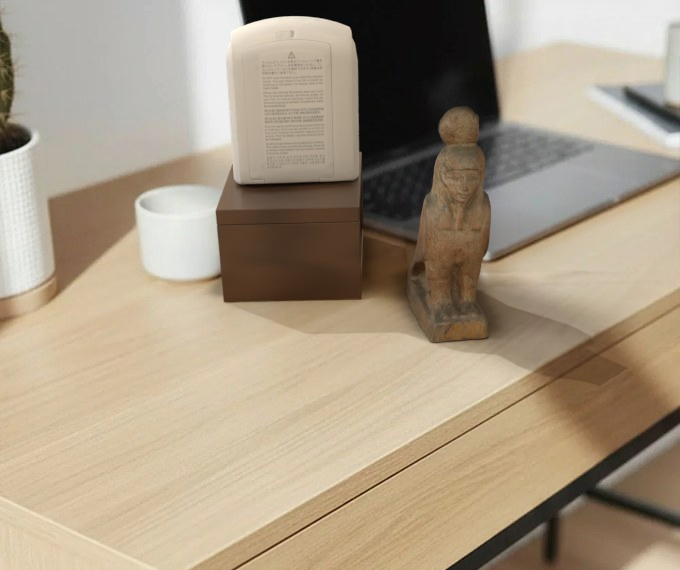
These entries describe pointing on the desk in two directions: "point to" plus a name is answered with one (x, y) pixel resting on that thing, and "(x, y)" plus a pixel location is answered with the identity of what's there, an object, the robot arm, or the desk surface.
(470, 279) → the worn brown figurine
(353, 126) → the photo printer
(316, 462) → the desk surface
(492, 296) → the desk surface
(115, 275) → the desk surface
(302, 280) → the lidded wooden box
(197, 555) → the desk surface
